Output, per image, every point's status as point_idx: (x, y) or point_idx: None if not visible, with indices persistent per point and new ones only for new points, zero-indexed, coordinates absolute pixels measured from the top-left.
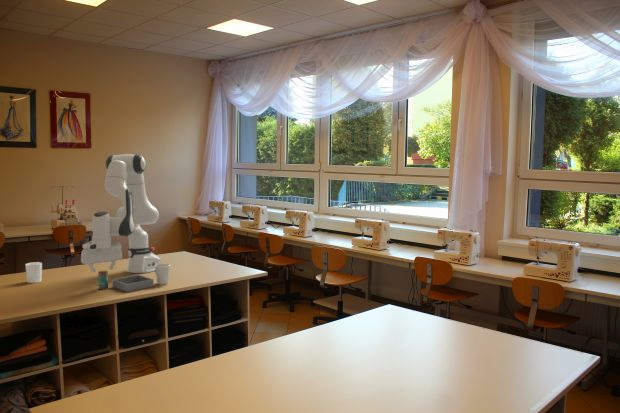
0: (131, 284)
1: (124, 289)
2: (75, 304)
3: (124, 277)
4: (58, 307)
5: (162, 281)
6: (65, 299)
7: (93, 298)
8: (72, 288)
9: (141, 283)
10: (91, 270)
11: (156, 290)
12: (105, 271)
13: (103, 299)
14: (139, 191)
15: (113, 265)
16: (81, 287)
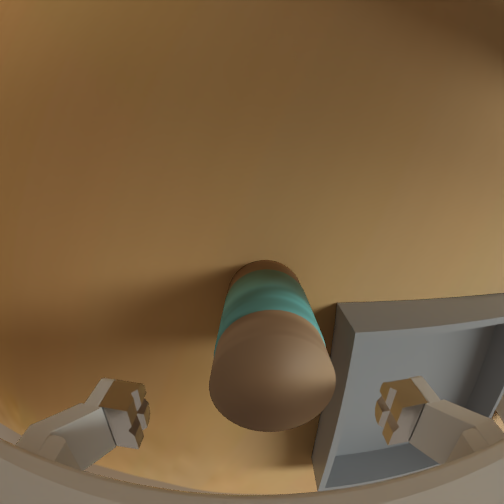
0: (350, 483)
1: (316, 453)
2: None
3: (457, 324)
4: (7, 420)
5: (501, 419)
6: (15, 350)
7: None
8: (92, 102)
9: (407, 467)
10: (99, 393)
11: None
12: (298, 405)
13: (163, 475)
14: None
15: (426, 441)
16: (150, 114)
